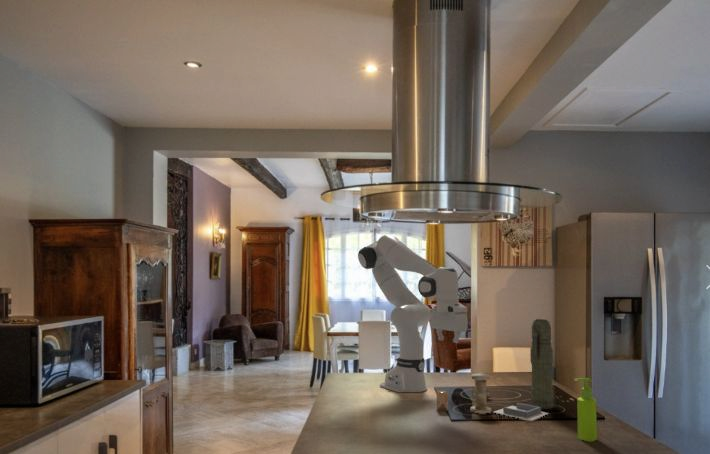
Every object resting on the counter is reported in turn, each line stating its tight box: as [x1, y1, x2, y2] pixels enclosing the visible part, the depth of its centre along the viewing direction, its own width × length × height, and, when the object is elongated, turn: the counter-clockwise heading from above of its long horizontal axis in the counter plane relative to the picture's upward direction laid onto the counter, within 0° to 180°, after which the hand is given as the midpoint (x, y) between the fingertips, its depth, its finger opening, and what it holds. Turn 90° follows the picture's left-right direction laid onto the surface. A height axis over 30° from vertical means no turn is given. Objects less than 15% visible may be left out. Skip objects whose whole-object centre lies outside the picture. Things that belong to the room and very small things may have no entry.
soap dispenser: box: [573, 377, 598, 442], centre depth 198 cm, size 6×7×20 cm
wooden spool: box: [469, 373, 492, 415], centre depth 232 cm, size 8×8×14 cm
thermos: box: [529, 318, 555, 410], centre depth 241 cm, size 9×12×35 cm
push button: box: [476, 371, 491, 397], centre depth 258 cm, size 7×5×10 cm
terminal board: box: [493, 402, 550, 422], centre depth 228 cm, size 16×14×3 cm
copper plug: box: [436, 390, 449, 412], centre depth 234 cm, size 4×4×7 cm
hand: (448, 341), depth 238 cm, fingers open, 8 cm apart
